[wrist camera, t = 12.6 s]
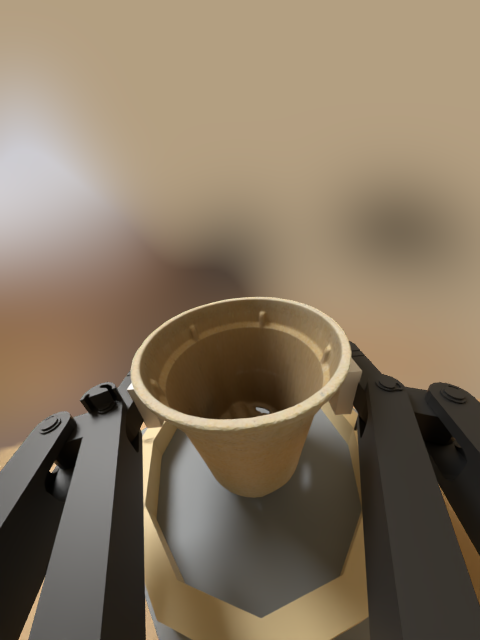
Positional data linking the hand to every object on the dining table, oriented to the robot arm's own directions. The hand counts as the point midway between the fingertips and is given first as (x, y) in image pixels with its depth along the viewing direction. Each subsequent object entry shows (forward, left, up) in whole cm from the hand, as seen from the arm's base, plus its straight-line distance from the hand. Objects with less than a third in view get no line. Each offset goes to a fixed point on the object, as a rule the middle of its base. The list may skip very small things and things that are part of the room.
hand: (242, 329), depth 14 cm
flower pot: (+3, -3, -6) cm, 8 cm away
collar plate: (+3, -3, -8) cm, 10 cm away
